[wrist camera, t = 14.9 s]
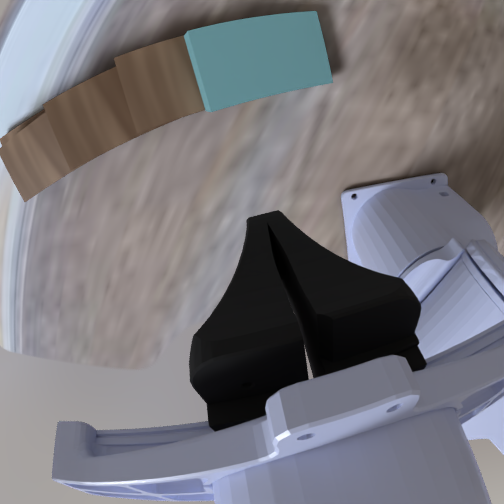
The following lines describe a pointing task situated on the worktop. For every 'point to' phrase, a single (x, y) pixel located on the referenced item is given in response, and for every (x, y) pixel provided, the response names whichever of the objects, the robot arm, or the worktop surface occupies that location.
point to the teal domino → (257, 58)
